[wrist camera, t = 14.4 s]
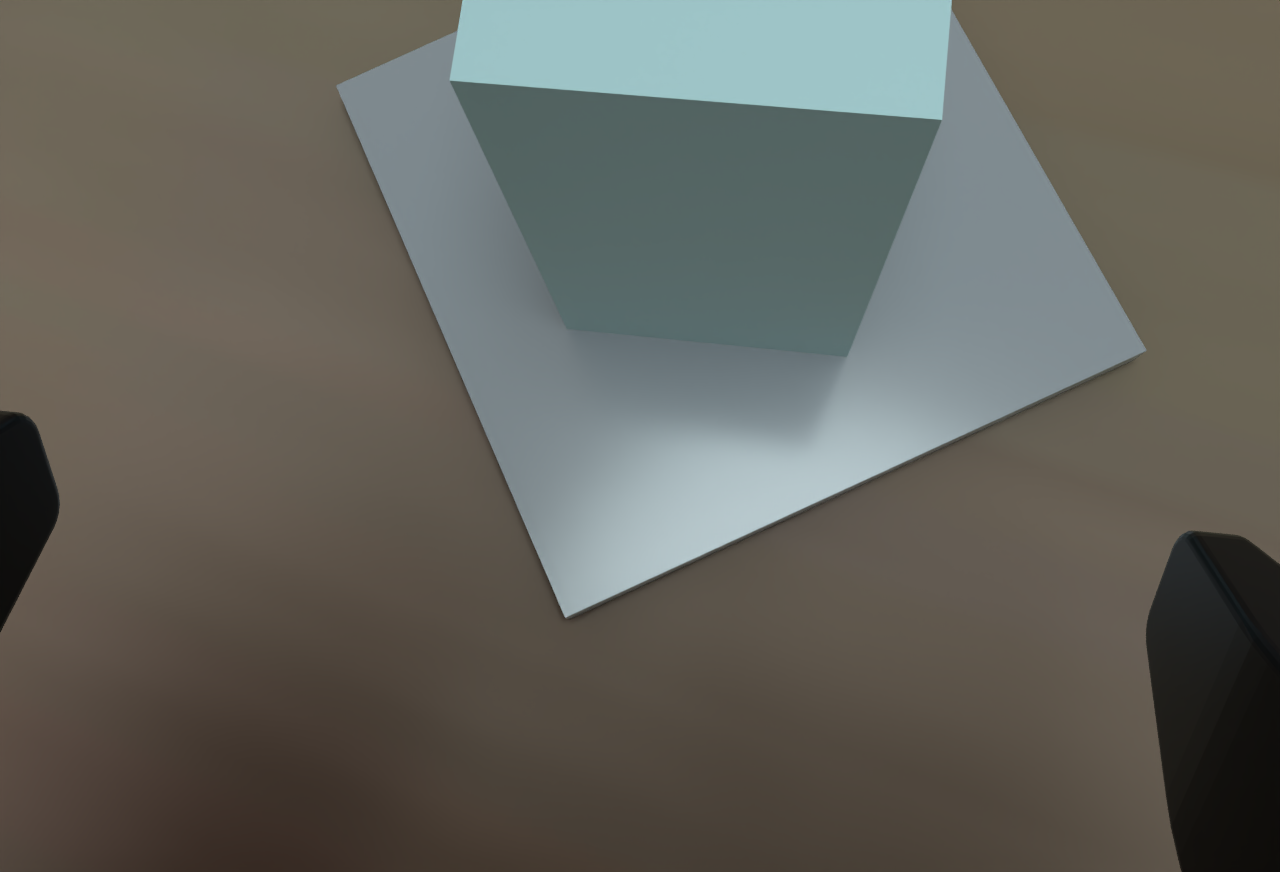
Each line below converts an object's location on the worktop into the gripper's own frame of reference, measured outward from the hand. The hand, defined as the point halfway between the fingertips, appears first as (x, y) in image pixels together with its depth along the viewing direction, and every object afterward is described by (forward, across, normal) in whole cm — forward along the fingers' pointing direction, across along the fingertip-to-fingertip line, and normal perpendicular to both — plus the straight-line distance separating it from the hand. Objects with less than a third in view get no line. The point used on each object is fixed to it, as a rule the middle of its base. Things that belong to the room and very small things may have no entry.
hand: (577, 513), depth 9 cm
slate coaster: (+13, 0, +3) cm, 13 cm away
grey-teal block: (+13, 0, +3) cm, 13 cm away
